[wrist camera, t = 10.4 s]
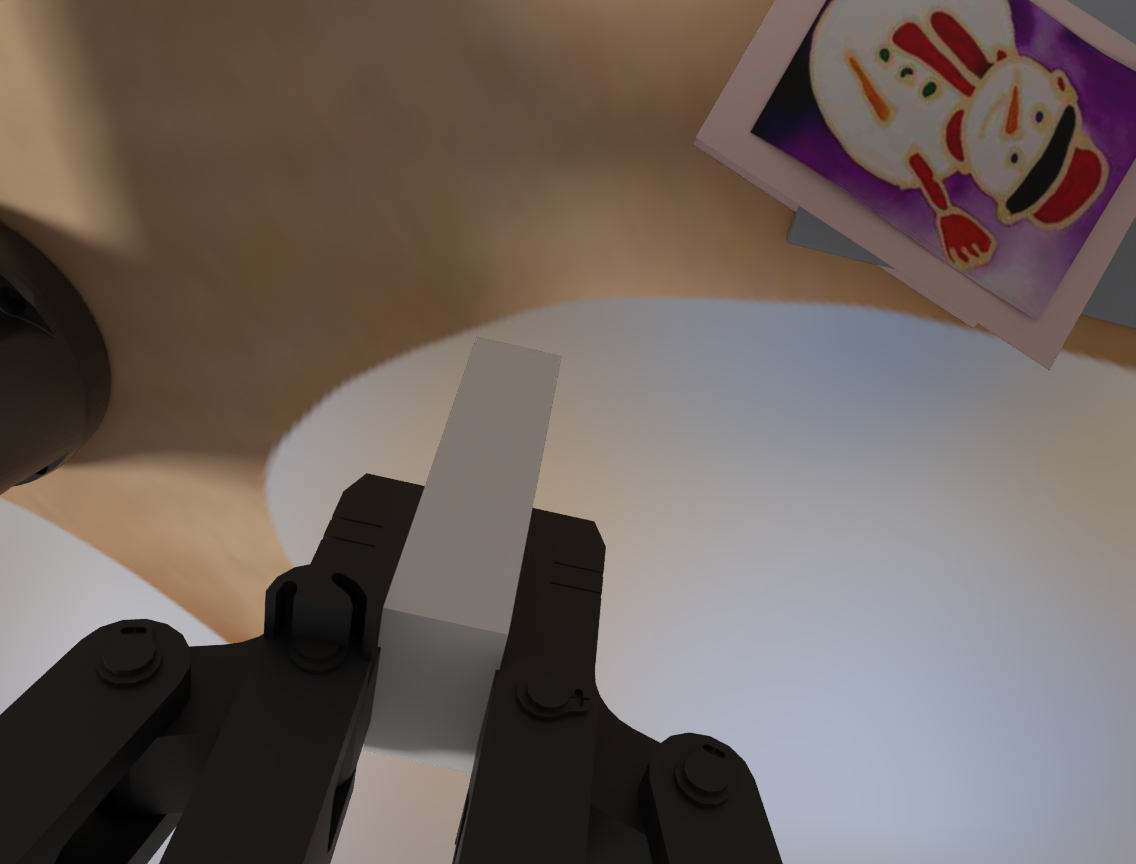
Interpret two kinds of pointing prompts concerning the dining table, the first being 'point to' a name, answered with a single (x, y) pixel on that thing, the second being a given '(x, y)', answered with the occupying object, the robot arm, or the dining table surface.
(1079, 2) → the mat
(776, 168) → the greeting card
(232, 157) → the dining table surface
